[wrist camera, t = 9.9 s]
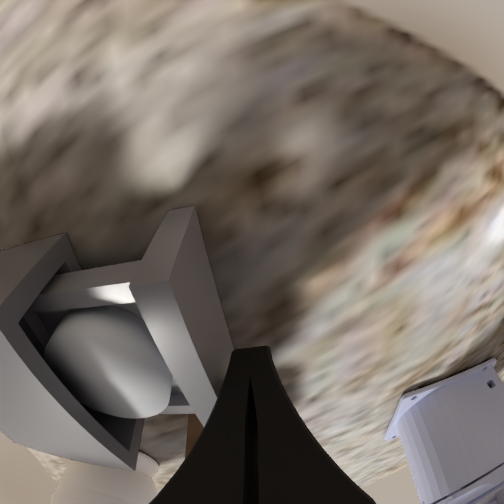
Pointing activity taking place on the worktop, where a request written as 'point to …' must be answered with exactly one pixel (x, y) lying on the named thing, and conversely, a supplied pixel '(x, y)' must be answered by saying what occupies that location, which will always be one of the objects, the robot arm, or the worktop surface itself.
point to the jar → (107, 484)
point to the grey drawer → (155, 309)
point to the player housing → (50, 372)
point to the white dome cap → (110, 362)
